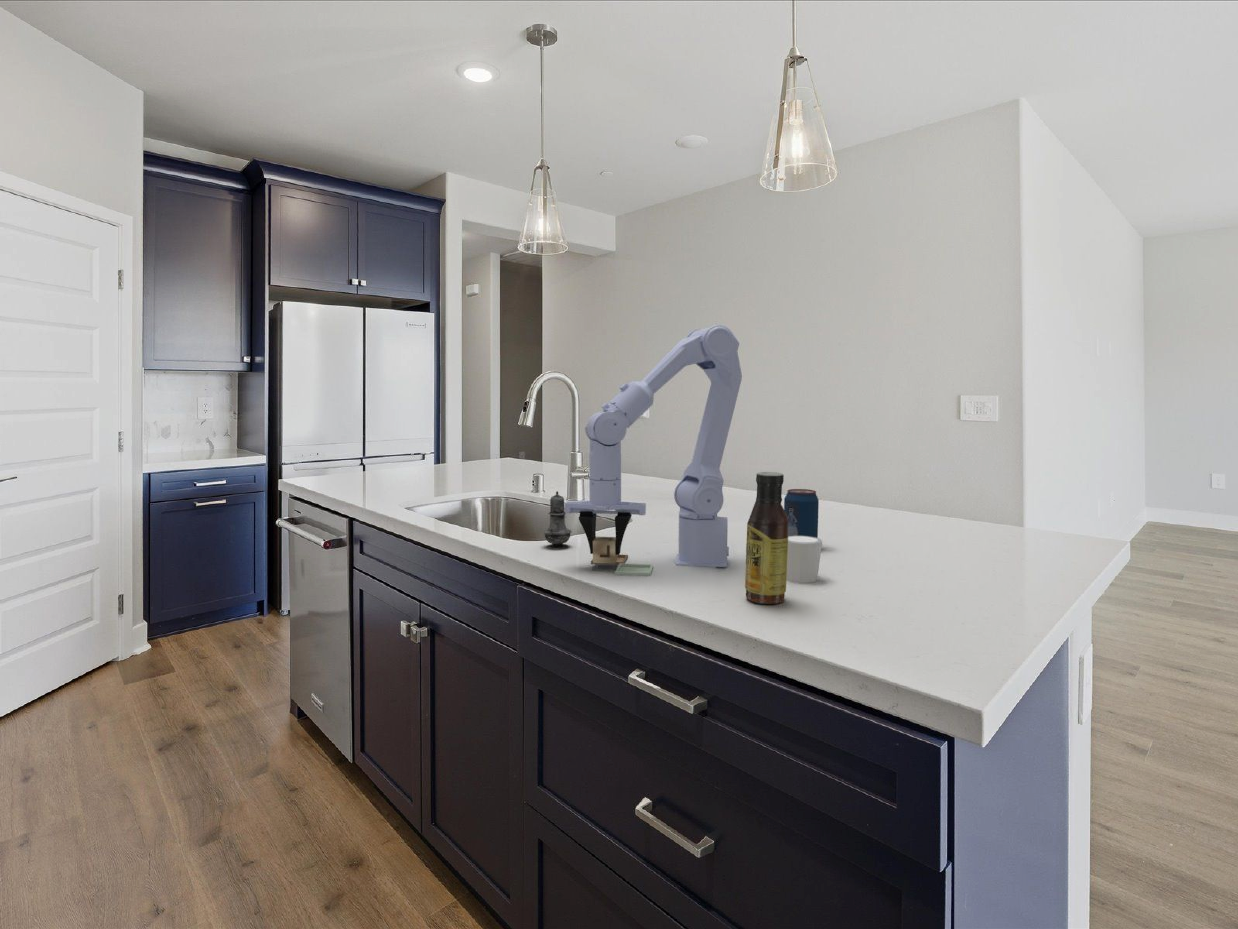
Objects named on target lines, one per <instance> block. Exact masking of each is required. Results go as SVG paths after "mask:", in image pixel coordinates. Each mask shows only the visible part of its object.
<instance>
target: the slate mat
mask: <svg viewBox="0 0 1238 929" xmlns="http://www.w3.org/2000/svg"><path fill="white" fill-rule="evenodd" d="M617 567H618V565H614V564H593V567H592V568H591V571H593V572H615V571H616V569H617Z"/></svg>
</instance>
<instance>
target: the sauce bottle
mask: <svg viewBox="0 0 1238 929" xmlns="http://www.w3.org/2000/svg"><path fill="white" fill-rule="evenodd" d="M784 481H785V480H784V474H783V473H782V472H777V471H776V472H775V471H760V472H757V473H756V478H755V482H756V498H755V501H754V504H753V507H752V510H751V512H750V515H749V519H748V520H747V524H746V544H745V545H746V547H745V553H746V554H745V574H744V576H745V577H744V580H745V583H744V587H745V597H746V599H747V600H748V601H751V602H754V603H755V604H760V605H761V604H762V605H763V604H764V605H773V604H776V605H778V604H781V603H783V602H784V600H785V596H786V595H785V593H786V592H787V591H786V590H787V580H786V576H787V554H788V517H787V514H786V512H785V510H784V506H783V505H782V501H783V498H782V495H783V493H782V492H783V484H784V483H785V482H784Z"/></svg>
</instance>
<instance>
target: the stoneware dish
mask: <svg viewBox="0 0 1238 929" xmlns="http://www.w3.org/2000/svg"><path fill="white" fill-rule="evenodd" d="M653 569H654V564H650V563H647V564H646V563H645V564H643V563H625V564H623V563H619V565H618V567H617V569H616V571H614V575H615V576H630V577H631V576H633V577H634V576H635V577H651V575H652V572H653Z"/></svg>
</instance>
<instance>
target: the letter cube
mask: <svg viewBox="0 0 1238 929" xmlns="http://www.w3.org/2000/svg"><path fill="white" fill-rule="evenodd" d="M615 541H616V536H596V538H595V539H594V540H593V554H592V559H593V563H609V564H615V563H616V561H617V559H618V555H616V552H615Z"/></svg>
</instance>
